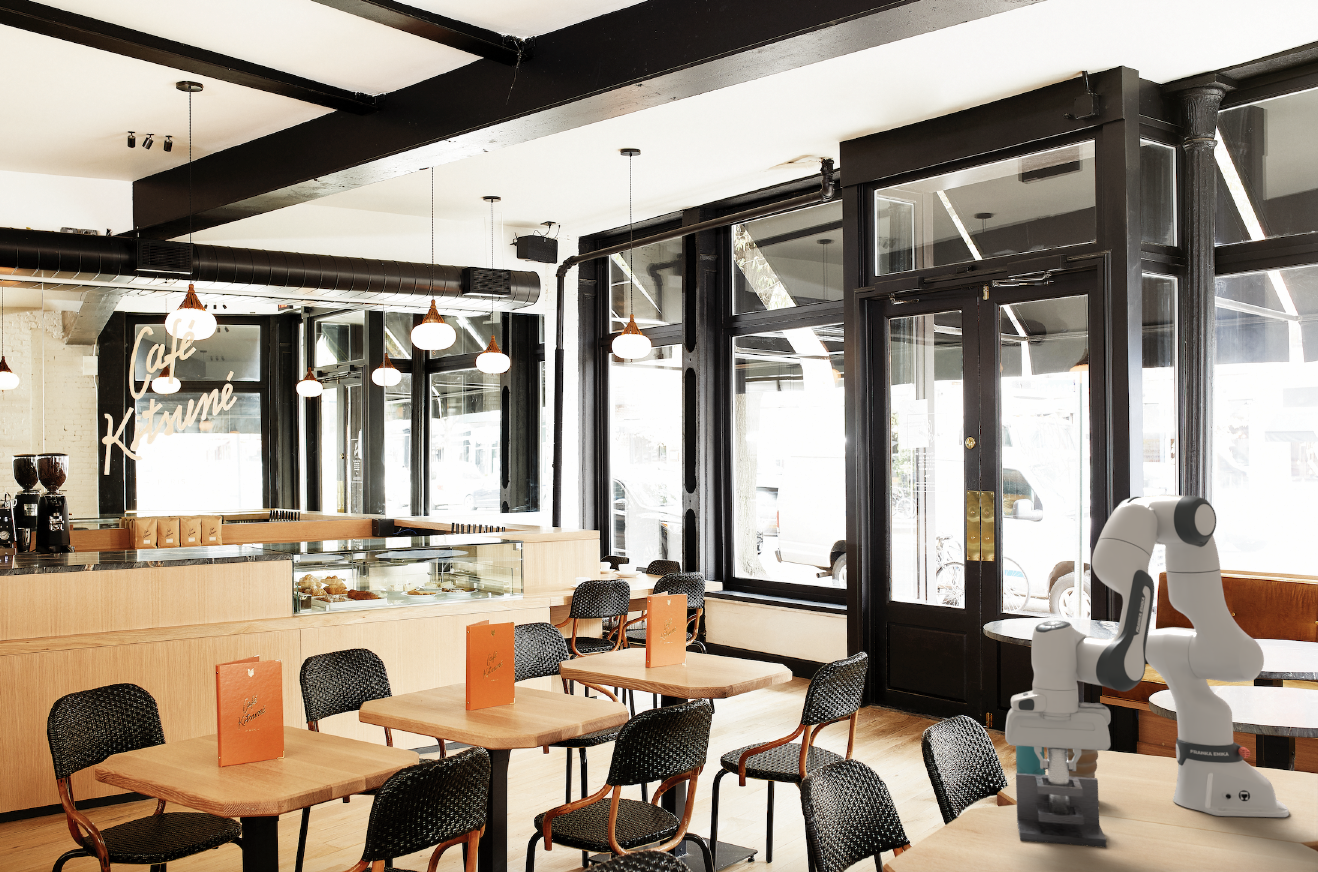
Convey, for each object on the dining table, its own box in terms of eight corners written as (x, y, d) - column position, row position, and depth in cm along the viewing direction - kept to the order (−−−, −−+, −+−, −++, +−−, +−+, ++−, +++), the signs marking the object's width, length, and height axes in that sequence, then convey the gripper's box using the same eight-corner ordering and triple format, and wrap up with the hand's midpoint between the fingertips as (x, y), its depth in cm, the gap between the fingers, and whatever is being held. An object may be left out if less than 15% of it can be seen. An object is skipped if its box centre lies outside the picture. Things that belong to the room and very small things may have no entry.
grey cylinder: (1069, 815, 210) (1067, 746, 211) (1071, 821, 206) (1069, 750, 207) (1048, 813, 211) (1045, 745, 212) (1049, 819, 207) (1047, 749, 208)
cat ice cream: (1097, 793, 239) (1094, 715, 240) (1103, 802, 231) (1100, 722, 232) (1057, 791, 241) (1054, 714, 242) (1062, 800, 233) (1059, 720, 234)
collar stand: (1098, 829, 212) (1096, 777, 212) (1106, 847, 200) (1104, 792, 201) (1017, 823, 216) (1015, 772, 217) (1020, 840, 205) (1018, 787, 206)
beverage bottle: (1049, 806, 228) (1046, 715, 230) (1018, 804, 230) (1015, 714, 231) (1044, 798, 235) (1041, 710, 236) (1014, 797, 236) (1011, 709, 238)
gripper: (1107, 700, 210) (1110, 769, 209) (1003, 696, 216) (1005, 762, 215) (1112, 706, 204) (1114, 776, 203) (1004, 701, 210) (1007, 769, 209)
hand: (1058, 769), depth 209 cm, fingers closed on grey cylinder, 4 cm apart
